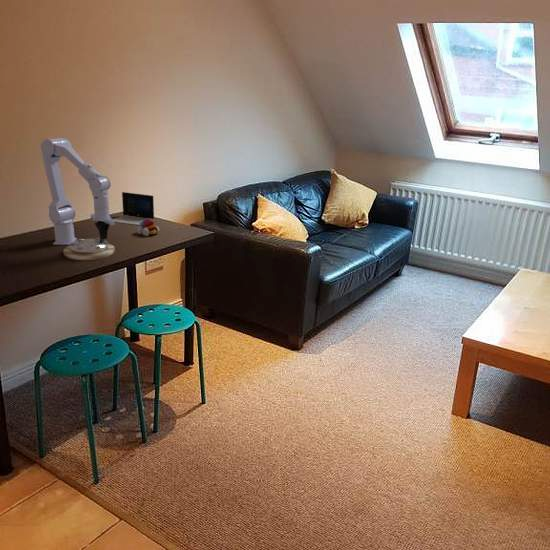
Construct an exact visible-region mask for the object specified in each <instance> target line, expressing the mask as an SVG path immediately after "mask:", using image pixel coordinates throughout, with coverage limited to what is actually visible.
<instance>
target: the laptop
mask: <svg viewBox="0 0 550 550" xmlns="http://www.w3.org/2000/svg"><path fill="white" fill-rule="evenodd" d="M121 197H122V215H121V216H118V217H115V218H112V219H113V220H115V223H118V224H119V223H120V224H126V225H135V226H140V222H141V221H144V219H149V220H153V221H154V220H155V207H154V206H155V205H154V201H155V200H154V195H150V194H144V193H143V194H142V193H134V192H125V191H122V192H121Z"/></svg>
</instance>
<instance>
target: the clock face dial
mask: <svg viewBox="0 0 550 550" xmlns="http://www.w3.org/2000/svg"><path fill="white" fill-rule="evenodd" d="M98 234H99V235H98V236H99V237H95V238H77V239H76V240H75V241H74V242H72V243H69V245H68V246H70V251H71V252H73V253H77V254H95V253H101V252H104V251H106V250H107V249H108V244H109V241H107V240H106V239H103V240H102V239H101V237H100V233H98Z"/></svg>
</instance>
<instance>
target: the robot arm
mask: <svg viewBox="0 0 550 550" xmlns="http://www.w3.org/2000/svg"><path fill="white" fill-rule="evenodd" d="M40 149H41V154H42V162H43V166H44V169H45V174H46V180H47V183H48V187H49V191H50V195H51V199H52V201H51V202H50V204H49V205H48V218H49V220H50V221H51V223H52V224H53V227H54V236H55V241H54V242H53V243H52V245H56V246H57V245H59V246H60V245H63V246H64V245H65V246H67V245H68V246H70V245H69V243H72V242H74V241H77V240H78V238H77V237H75V228H74V223H73V222H74V218H75V217H76V210H75V208H74V207H73V203H72V202H71V201H70V200H69V199H67V196H66V193H65V187H64V184H63V179H62V175H61V170H60V166H59V160H60V159H61V158H62V157H65V158H66V160H68V161H69V162H70V163H71V164H73V165H74V167H76V168H77V169H78V170H77V171H78V174H79V175H80V176H81V177H82V178H83V179H84V180H85V182H87V184H88V187H89V189H90V191H91V195H92V197H93V211H94V213H92V214H90V215H89V217H90V220H92V221H95V223H94V225H95V227H96V228H97V231H98V232H99V233H100V237H101V239H102V240H103V239H105V240H108V232H109V228H110V226H115V225H116V222H115V220H113V219H114V218H112V217H111V216H110V205H109V203H110V202H109V189H110V188H111V181H110V179H109V178H108V176H106V175H102V174H101V173H99V172H98V171H97V170H96V169H95V167H94V166H93V164H90V163H87V162H85V161H84V160H83V159H82V158H81V156H80V155H79V154H78V153H77V152H76V151H75V149H74V148H73V147H72V143H71V142H70V141H69V140H68V138H67V137H63V136H62V137H56V138H45V139H44V140H43V141H42V142H41V144H40ZM99 233H98V234H99Z"/></svg>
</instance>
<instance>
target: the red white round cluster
mask: <svg viewBox="0 0 550 550" xmlns="http://www.w3.org/2000/svg"><path fill="white" fill-rule="evenodd" d="M154 223H155V222H154V220H153V221H152V220H149V219H147V218H146V219H144V221H141V222H140V225H137V227H136V233H137V234H138V235H140V234H141V235H143V236H144V237H148V236H150V235H158V234H159V232H160V227H159V226H157V224H154Z"/></svg>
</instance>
